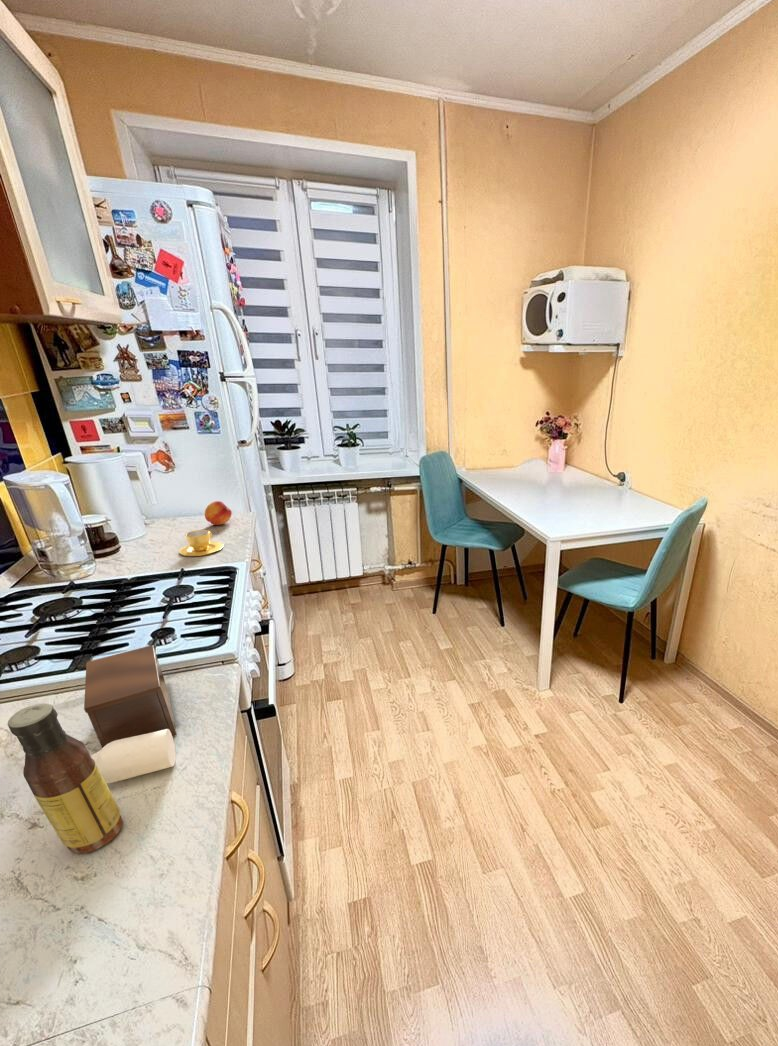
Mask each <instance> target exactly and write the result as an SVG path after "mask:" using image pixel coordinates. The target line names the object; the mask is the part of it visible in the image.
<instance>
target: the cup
mask: <svg viewBox="0 0 778 1046" xmlns="http://www.w3.org/2000/svg"><path fill="white" fill-rule="evenodd" d="M184 536H185V538H186V541H187V543H188V545H186V546H184V547H182V548H181V549H180V550H179V554H180V555H181V556H184V557H200V556H206V555H210V554H213V553H215V552H218V551H220V550H222V549H223V547H224V544H223V543H222V542H218V541H211V540H212V538H213V533H212V531H211V530H207V529H197V530H191V531H188V532H186V533H185V535H184Z"/></svg>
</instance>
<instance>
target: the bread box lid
mask: <svg viewBox="0 0 778 1046" xmlns="http://www.w3.org/2000/svg"><path fill="white" fill-rule="evenodd" d="M155 652H156V649H155V646H154V645H153V644H151V645H148V646H143V647H140V648H136V649H131V650H127V651H123V652H121V653H116V654H112V655H108V656H104V657H101V658H97V659H93V660H89V661H86V663H85V665H86V666H85V681H84V682H85V685H84V700H83V701H84V703H83V709H84V712H85V713H86V714H87V712H91V711H94V710H98V709H101V708H104V707H108V706H111V705H114V704H118V703H121V702H125V701H128V700H131V699H135V698H138V697H141V696H145V695H148V694H152V693H155V692H158V691H161V685H160V679H159V674H158V668H157V662H156V656H157V655H156V656H155Z"/></svg>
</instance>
